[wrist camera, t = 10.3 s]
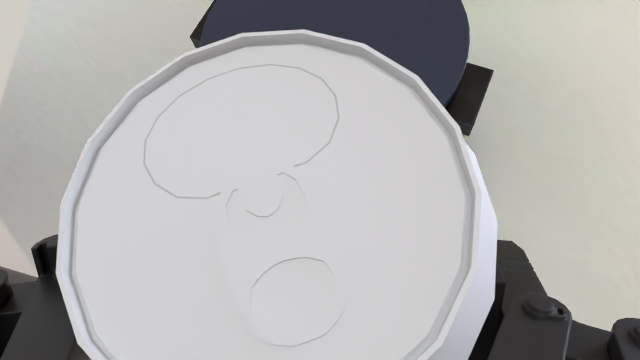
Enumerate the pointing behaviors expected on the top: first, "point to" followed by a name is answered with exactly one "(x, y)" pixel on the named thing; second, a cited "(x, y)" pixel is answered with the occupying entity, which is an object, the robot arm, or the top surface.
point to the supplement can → (277, 212)
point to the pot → (374, 38)
